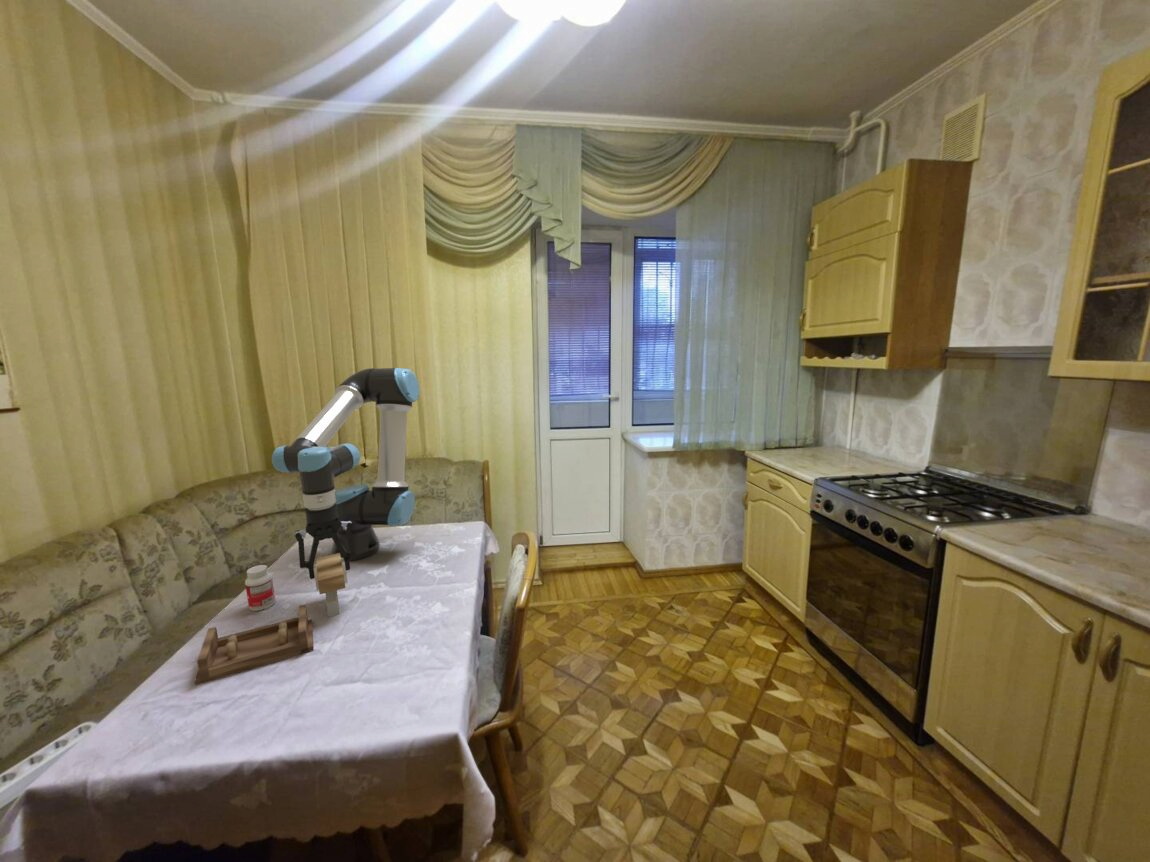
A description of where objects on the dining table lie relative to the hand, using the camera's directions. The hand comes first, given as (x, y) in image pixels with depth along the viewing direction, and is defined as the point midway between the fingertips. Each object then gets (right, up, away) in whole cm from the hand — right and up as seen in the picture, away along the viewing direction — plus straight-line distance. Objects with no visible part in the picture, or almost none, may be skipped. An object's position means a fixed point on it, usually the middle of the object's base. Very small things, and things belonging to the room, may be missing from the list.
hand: (331, 584), depth 126 cm
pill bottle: (-20, -7, +2) cm, 21 cm away
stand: (0, -6, +1) cm, 6 cm away
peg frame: (-8, -10, -18) cm, 22 cm away
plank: (0, +1, 0) cm, 2 cm away
